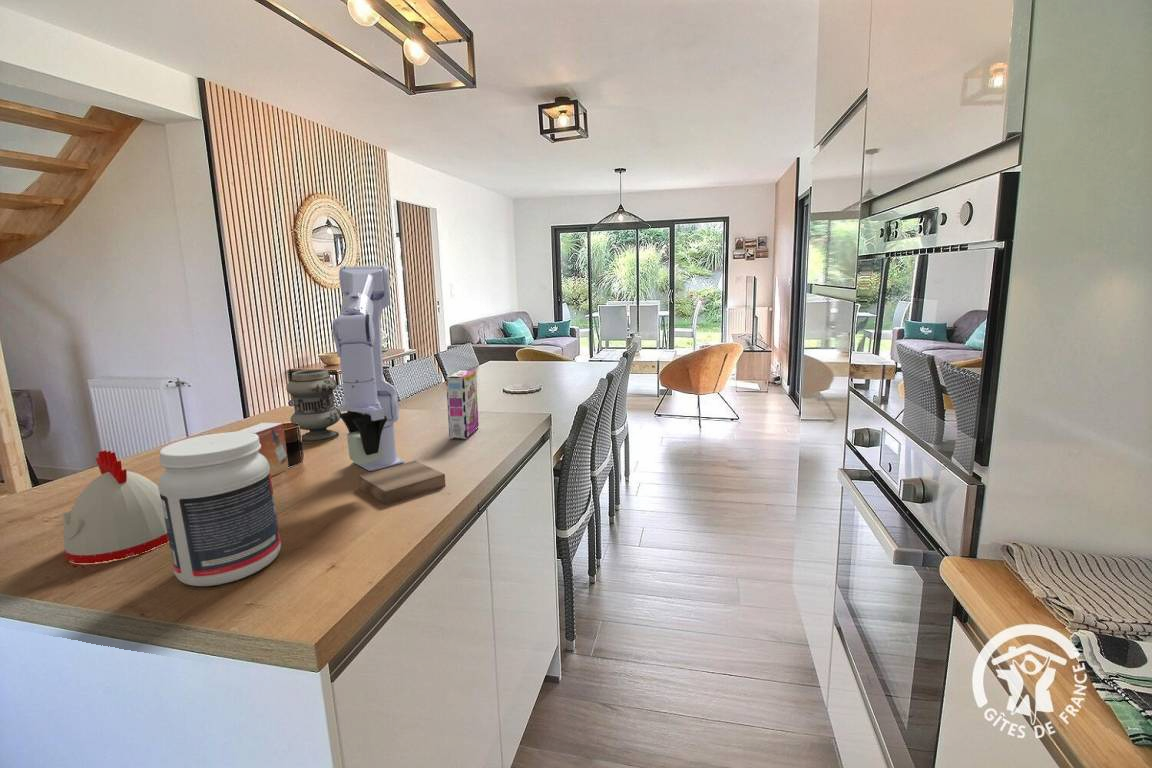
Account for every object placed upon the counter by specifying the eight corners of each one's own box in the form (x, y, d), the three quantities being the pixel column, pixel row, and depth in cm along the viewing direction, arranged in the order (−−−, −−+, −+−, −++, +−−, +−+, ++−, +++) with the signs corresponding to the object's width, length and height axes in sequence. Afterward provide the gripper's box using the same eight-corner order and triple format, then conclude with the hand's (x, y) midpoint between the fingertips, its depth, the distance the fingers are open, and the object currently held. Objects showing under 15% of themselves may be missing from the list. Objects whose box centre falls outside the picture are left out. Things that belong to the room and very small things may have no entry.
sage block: (349, 458, 100) (346, 433, 99) (373, 453, 103) (370, 428, 102) (358, 464, 96) (356, 438, 95) (382, 458, 99) (380, 433, 98)
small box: (261, 482, 108) (254, 432, 106) (238, 481, 109) (231, 432, 107) (289, 469, 116) (283, 422, 114) (268, 467, 117) (261, 422, 115)
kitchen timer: (158, 517, 92) (143, 435, 90) (197, 533, 86) (182, 445, 83) (52, 552, 81) (30, 459, 78) (87, 575, 74) (65, 473, 71)
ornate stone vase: (300, 433, 144) (291, 368, 140) (347, 429, 147) (340, 366, 143) (287, 446, 132) (278, 376, 129) (338, 442, 135) (330, 373, 132)
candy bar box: (468, 440, 134) (463, 376, 131) (449, 440, 134) (444, 376, 131) (480, 428, 145) (476, 369, 142) (462, 428, 145) (458, 369, 142)
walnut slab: (360, 490, 104) (358, 475, 103) (416, 473, 112) (415, 460, 111) (387, 507, 95) (385, 491, 95) (445, 488, 103) (444, 474, 103)
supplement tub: (301, 546, 80) (286, 430, 77) (235, 595, 68) (213, 459, 64) (228, 541, 82) (209, 428, 79) (150, 588, 70) (124, 456, 67)
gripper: (322, 378, 99) (331, 447, 102) (352, 388, 89) (360, 464, 91) (360, 373, 104) (367, 439, 107) (392, 382, 94) (398, 455, 96)
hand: (366, 450), depth 99 cm, fingers closed on sage block, 4 cm apart
